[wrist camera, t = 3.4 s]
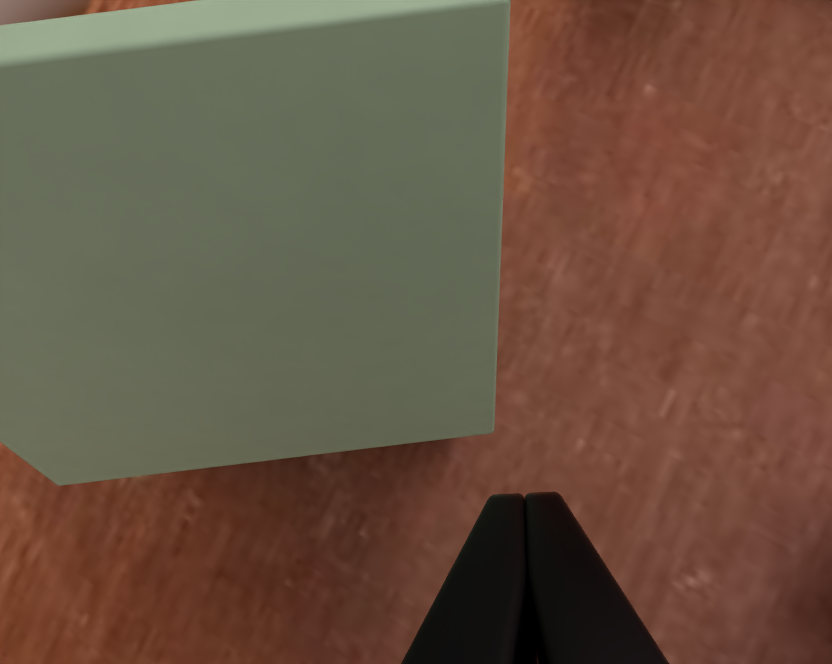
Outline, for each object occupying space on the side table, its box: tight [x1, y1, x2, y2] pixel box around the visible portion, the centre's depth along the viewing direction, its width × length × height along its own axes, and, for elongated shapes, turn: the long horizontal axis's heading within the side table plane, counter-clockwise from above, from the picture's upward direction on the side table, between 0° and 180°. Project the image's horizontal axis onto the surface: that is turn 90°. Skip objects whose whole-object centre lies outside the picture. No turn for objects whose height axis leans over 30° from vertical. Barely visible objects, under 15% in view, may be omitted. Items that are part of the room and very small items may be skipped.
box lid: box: [0, 0, 510, 486], centre depth 11 cm, size 10×9×1 cm
